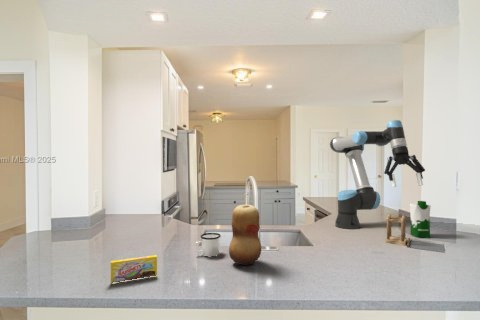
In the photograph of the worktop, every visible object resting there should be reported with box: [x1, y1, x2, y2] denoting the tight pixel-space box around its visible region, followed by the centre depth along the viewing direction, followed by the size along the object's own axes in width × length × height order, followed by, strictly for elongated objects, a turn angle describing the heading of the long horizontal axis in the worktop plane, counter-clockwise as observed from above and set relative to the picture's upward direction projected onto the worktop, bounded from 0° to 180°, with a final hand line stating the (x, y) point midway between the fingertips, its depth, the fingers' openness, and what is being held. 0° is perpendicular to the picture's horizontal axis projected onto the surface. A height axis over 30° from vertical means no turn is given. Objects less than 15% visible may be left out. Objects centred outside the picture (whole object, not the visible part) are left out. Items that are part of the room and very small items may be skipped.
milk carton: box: [409, 200, 431, 238], centre depth 160 cm, size 9×9×20 cm
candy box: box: [110, 254, 158, 284], centre depth 105 cm, size 16×2×8 cm, turn 114°
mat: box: [409, 239, 446, 254], centre depth 142 cm, size 14×14×1 cm
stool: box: [385, 213, 408, 246], centre depth 149 cm, size 9×9×14 cm
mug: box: [194, 232, 221, 257], centre depth 132 cm, size 12×10×9 cm
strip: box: [406, 237, 411, 248], centre depth 146 cm, size 1×14×1 cm, turn 146°
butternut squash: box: [228, 204, 262, 266], centre depth 120 cm, size 14×13×25 cm
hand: (407, 186), depth 148 cm, fingers open, 13 cm apart
